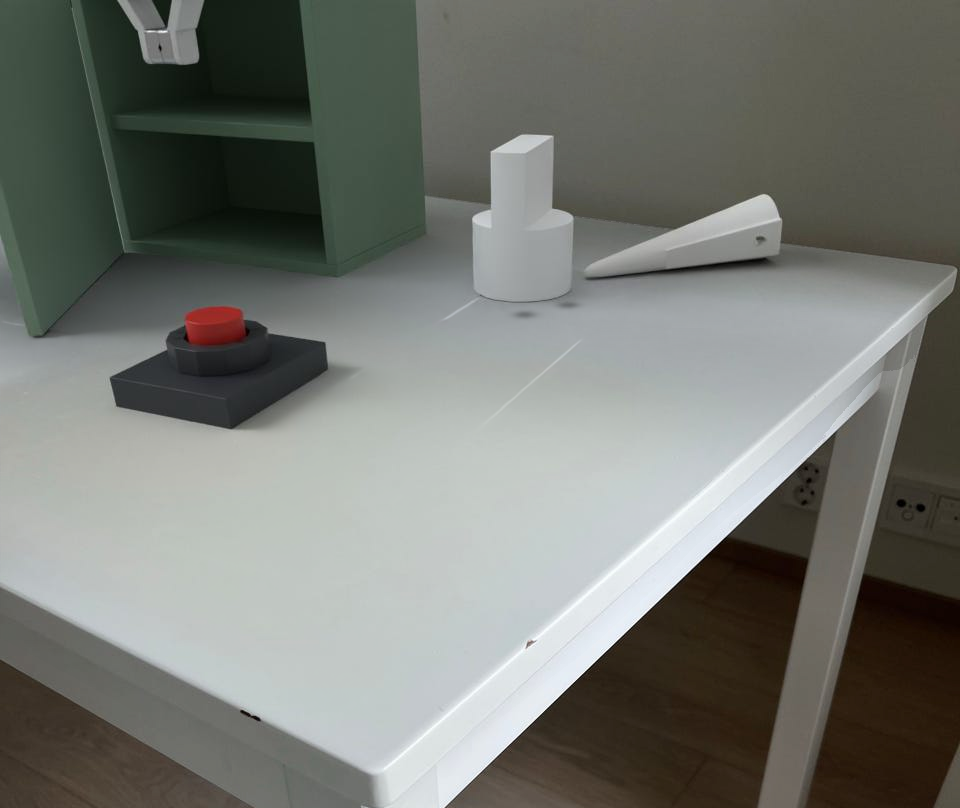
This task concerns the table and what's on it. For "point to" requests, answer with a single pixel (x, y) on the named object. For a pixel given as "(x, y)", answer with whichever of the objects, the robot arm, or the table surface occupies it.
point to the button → (215, 325)
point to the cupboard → (264, 132)
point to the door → (50, 164)
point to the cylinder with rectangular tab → (522, 227)
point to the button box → (220, 376)
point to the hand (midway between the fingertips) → (172, 63)
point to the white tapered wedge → (703, 242)
